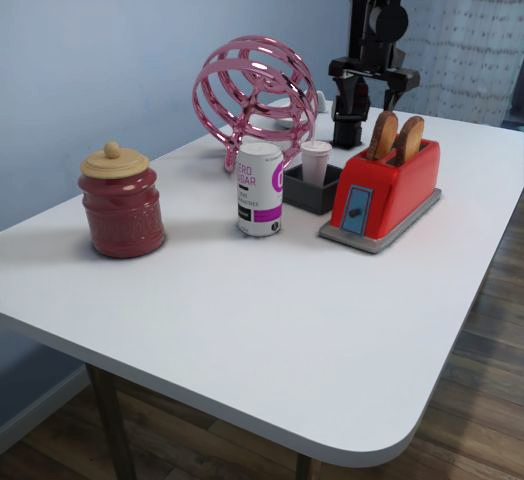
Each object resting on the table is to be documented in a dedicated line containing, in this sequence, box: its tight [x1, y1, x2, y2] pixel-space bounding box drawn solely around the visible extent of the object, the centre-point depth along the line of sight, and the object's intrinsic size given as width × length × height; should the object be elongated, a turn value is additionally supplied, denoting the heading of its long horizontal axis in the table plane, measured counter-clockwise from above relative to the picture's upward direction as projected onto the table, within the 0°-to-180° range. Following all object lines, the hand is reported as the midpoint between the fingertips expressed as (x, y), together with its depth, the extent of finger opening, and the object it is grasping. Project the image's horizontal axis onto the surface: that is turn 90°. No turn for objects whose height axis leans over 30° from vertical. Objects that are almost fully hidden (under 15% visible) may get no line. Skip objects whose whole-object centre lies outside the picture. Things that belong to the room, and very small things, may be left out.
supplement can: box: [235, 140, 284, 237], centre depth 89 cm, size 8×8×15 cm
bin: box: [282, 163, 344, 216], centre depth 103 cm, size 12×12×5 cm
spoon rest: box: [274, 89, 327, 130], centre depth 143 cm, size 24×12×7 cm, turn 151°
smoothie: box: [299, 121, 333, 187], centre depth 100 cm, size 6×6×14 cm
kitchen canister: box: [77, 140, 165, 259], centre depth 84 cm, size 13×13×18 cm
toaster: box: [318, 110, 443, 254], centre depth 93 cm, size 32×13×19 cm, turn 144°
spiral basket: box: [191, 34, 319, 172], centre depth 109 cm, size 28×28×27 cm
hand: (366, 118), depth 105 cm, fingers open, 9 cm apart
